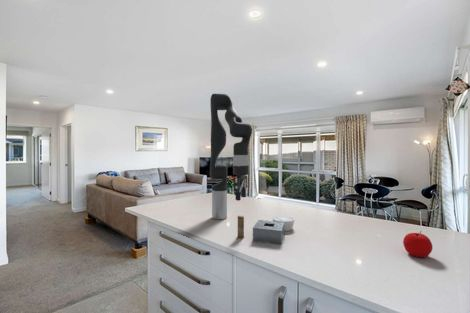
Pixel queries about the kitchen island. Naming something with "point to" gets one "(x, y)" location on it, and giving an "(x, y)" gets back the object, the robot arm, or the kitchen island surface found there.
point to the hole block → (268, 231)
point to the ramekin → (285, 222)
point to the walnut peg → (240, 226)
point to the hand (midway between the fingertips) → (240, 198)
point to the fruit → (417, 244)
